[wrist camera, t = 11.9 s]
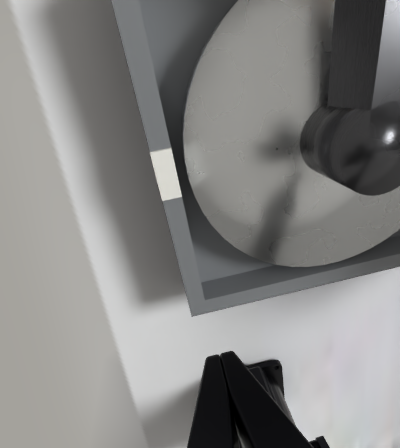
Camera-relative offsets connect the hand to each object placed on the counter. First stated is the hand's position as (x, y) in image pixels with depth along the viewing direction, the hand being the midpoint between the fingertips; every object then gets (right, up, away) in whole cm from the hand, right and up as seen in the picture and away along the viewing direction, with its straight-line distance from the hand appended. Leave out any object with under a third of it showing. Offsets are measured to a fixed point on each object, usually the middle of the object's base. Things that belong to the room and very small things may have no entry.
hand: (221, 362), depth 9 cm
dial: (+6, +10, +7) cm, 13 cm away
